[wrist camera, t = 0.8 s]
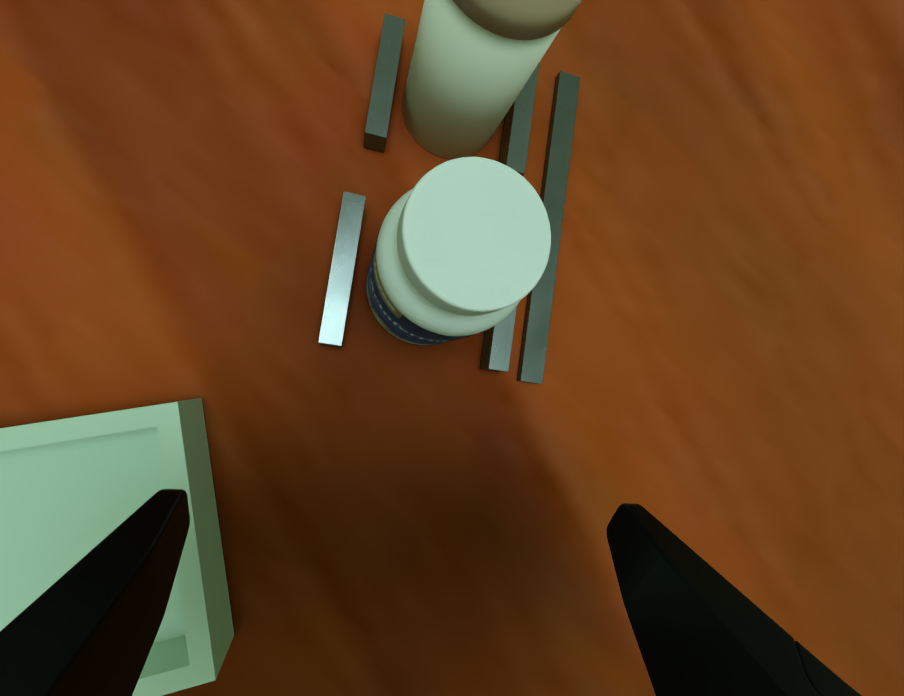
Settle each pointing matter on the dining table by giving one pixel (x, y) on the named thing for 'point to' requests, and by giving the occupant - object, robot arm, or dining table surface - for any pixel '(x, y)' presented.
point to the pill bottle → (458, 252)
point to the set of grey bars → (510, 155)
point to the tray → (117, 522)
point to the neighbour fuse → (474, 67)
